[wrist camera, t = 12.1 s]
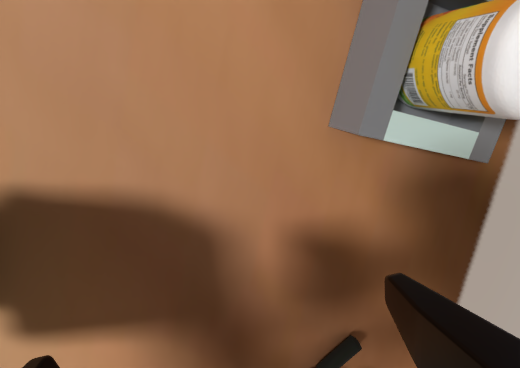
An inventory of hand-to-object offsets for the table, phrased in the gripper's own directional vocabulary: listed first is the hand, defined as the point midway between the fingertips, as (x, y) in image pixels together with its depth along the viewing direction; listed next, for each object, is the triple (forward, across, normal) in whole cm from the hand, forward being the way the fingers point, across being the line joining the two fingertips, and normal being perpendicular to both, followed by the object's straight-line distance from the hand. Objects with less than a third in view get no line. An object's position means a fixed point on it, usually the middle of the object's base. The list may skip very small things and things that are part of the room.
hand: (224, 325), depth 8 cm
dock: (+15, -14, -3) cm, 20 cm away
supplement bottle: (+14, -14, -3) cm, 20 cm away
